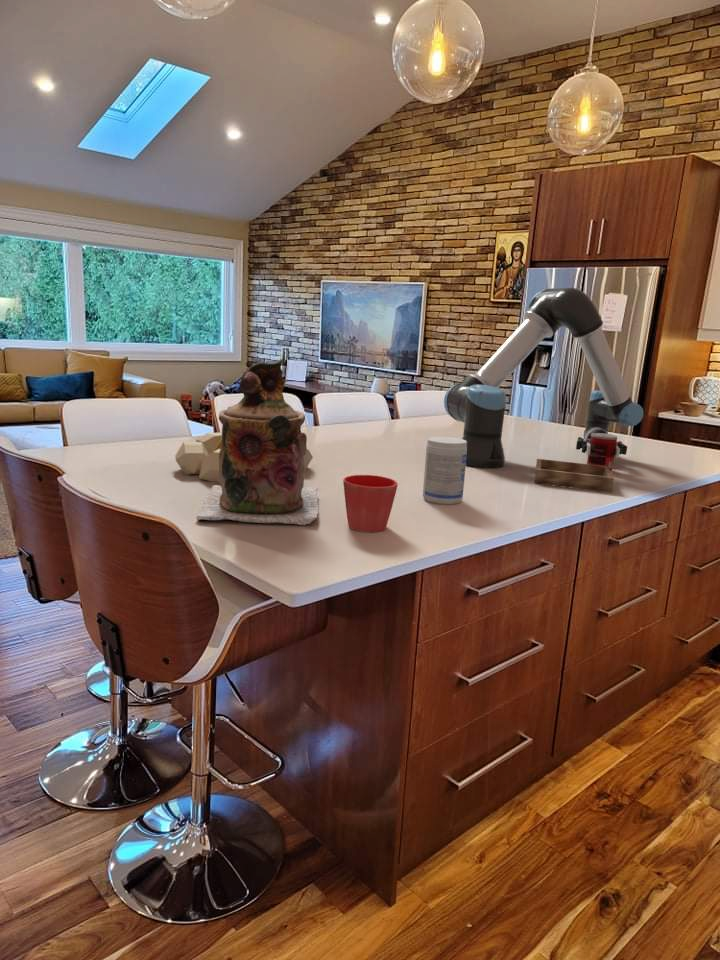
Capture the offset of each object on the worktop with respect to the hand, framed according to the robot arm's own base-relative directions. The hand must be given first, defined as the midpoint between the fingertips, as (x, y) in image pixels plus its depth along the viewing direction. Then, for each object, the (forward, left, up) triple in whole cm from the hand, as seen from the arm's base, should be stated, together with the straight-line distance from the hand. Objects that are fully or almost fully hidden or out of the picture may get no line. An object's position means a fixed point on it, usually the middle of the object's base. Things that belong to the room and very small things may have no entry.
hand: (603, 452), depth 195 cm
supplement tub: (-40, -55, -7) cm, 68 cm away
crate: (-9, -17, -7) cm, 20 cm away
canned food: (0, +5, -7) cm, 8 cm away
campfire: (-94, -50, -7) cm, 107 cm away
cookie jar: (-75, -81, -7) cm, 111 cm away
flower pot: (-51, -83, -7) cm, 98 cm away
